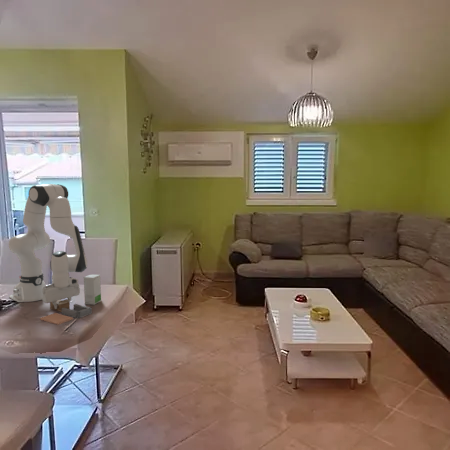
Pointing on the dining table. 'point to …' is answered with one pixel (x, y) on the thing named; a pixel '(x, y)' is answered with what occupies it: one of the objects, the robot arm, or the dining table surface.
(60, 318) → the rubber pad
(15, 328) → the dining table surface
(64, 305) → the walnut block
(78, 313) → the frame
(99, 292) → the skincare box
